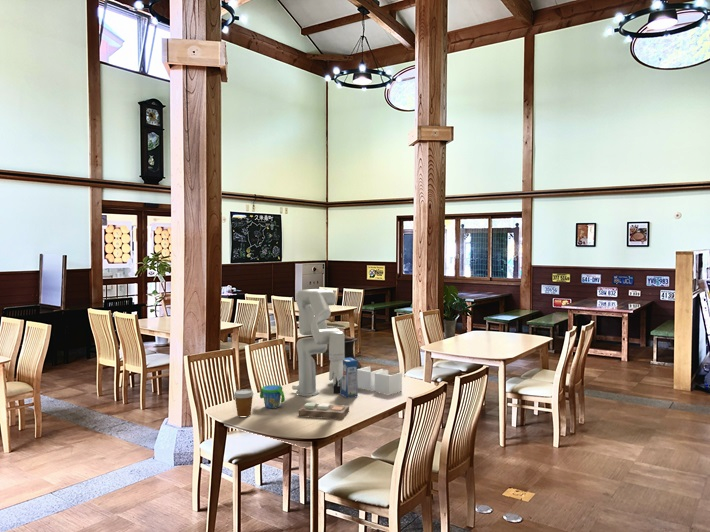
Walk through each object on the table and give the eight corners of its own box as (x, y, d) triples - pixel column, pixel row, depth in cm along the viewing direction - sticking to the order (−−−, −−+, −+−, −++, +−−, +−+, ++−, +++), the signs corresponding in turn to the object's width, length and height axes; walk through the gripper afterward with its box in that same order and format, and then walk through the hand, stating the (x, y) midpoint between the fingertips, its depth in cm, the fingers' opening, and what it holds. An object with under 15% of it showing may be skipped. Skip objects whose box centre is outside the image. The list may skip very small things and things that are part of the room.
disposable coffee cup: (244, 419, 261) (244, 395, 260) (230, 416, 266) (229, 392, 265) (258, 414, 269) (257, 390, 268) (243, 411, 274) (243, 388, 273)
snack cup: (290, 407, 281) (289, 387, 280) (274, 412, 273) (274, 391, 272) (270, 401, 291) (270, 383, 291) (254, 406, 283) (254, 387, 283)
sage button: (304, 410, 268) (304, 405, 268) (307, 407, 273) (307, 402, 273) (313, 411, 267) (313, 405, 267) (316, 408, 272) (316, 403, 272)
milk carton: (357, 396, 299) (357, 360, 298) (347, 398, 297) (346, 361, 296) (351, 392, 308) (350, 357, 308) (340, 393, 306) (340, 358, 305)
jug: (365, 384, 325) (365, 334, 324) (335, 387, 320) (335, 336, 319) (355, 376, 345) (354, 329, 344) (327, 379, 340) (326, 331, 339)
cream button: (317, 411, 266) (317, 406, 266) (320, 408, 271) (320, 403, 271) (327, 412, 265) (327, 406, 265) (330, 409, 270) (330, 403, 270)
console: (298, 416, 265) (298, 409, 265) (306, 409, 277) (306, 402, 277) (343, 419, 260) (343, 412, 260) (349, 411, 272) (349, 405, 271)
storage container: (356, 388, 318) (356, 369, 318) (369, 384, 326) (369, 366, 326) (389, 395, 301) (389, 375, 301) (401, 391, 309) (401, 372, 309)
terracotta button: (331, 414, 265) (331, 409, 265) (334, 411, 270) (334, 406, 270) (341, 415, 264) (341, 409, 264) (343, 412, 269) (343, 406, 268)
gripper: (333, 353, 274) (333, 388, 275) (325, 359, 259) (325, 397, 261) (347, 353, 272) (348, 389, 273) (340, 360, 258) (340, 398, 259)
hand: (336, 393), depth 267 cm, fingers closed
